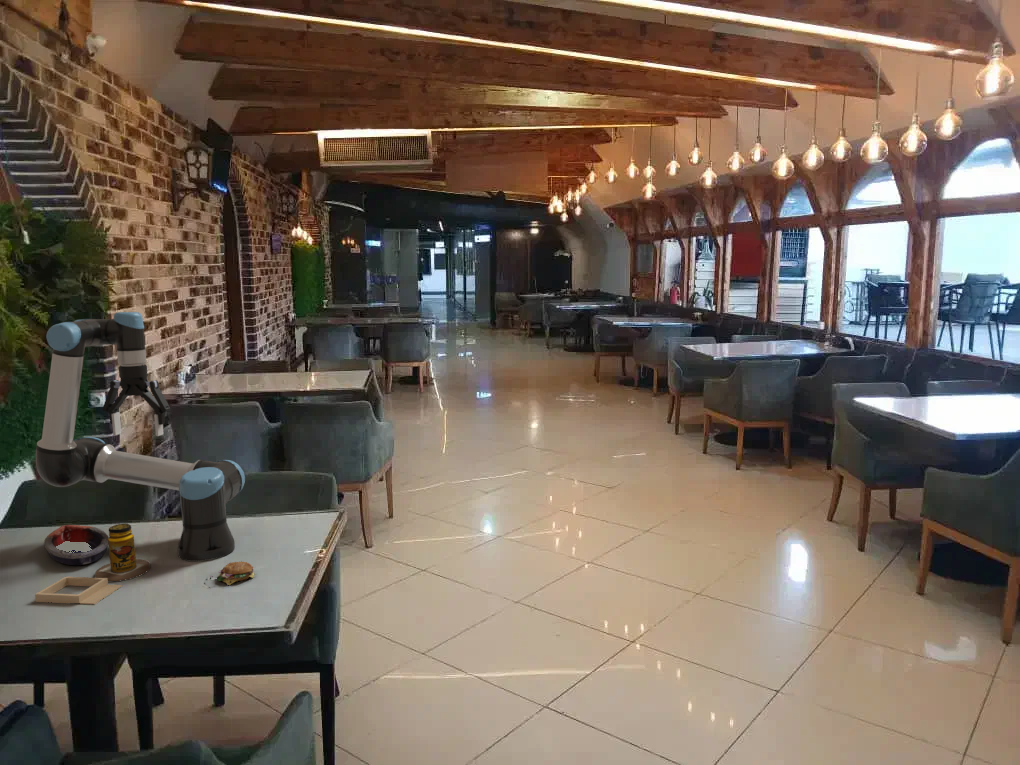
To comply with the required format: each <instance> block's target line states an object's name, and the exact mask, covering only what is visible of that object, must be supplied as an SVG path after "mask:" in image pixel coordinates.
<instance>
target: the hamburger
mask: <svg viewBox="0 0 1020 765" xmlns="http://www.w3.org/2000/svg"><path fill="white" fill-rule="evenodd" d="M217 573H218V575H217V576H216V578H217V580H216V581H218V582H221V581H222V582H223V583H226V585H227V586H228V585H229V586H231V584H234V583H239V582H238V581H240V582H244V581H246V580H248V579H250V578H251V579H254V577H255V572H254V566H252V564H250V563H249V562H247V561H242V560H241V561H233V562H231V561H230V562H229V563H227V564H226V565H225V566H223V568H222V569H221V570H219V571H218V572H217ZM211 576H212V575H210V576H209V577H211ZM249 577H250V578H249ZM243 580H244V581H243Z"/></svg>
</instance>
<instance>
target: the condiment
mask: <svg viewBox="0 0 1020 765" xmlns="http://www.w3.org/2000/svg"><path fill="white" fill-rule="evenodd" d="M132 532H133V530H132V525H131V524H129V523H118V524H114V525H111V526H110V527H109V528H108V537H109V538H108V554H109V556H108V557H109V564H111V566H109V567H107V568H105V569H103V570H100V571H101V572H107V573H111V574H116V575H124V574H126V573H129V572H131V571H133V570H135V569H137V568H139V567H141V566H143V564H136V559H137V558H136V556H137V555H136V550H135V549H136V548H135V537H134V534H133V533H132Z"/></svg>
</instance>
